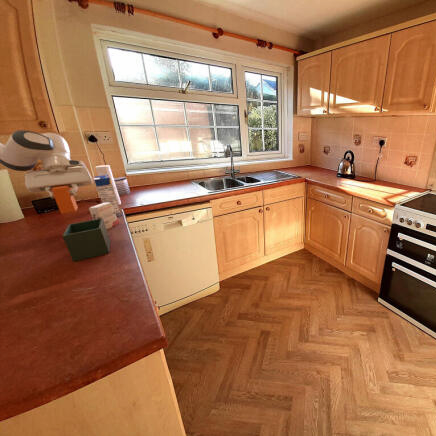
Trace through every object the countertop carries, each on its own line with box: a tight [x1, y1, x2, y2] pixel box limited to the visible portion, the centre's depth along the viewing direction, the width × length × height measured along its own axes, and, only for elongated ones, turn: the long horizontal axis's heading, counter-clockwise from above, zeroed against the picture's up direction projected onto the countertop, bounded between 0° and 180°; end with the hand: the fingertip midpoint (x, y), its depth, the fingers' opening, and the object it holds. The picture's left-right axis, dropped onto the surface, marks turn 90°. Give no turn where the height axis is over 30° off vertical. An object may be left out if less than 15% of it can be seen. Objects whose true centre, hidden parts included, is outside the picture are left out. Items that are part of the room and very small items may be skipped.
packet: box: [51, 185, 79, 215], centre depth 98 cm, size 4×6×10 cm
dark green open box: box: [62, 218, 112, 263], centre depth 99 cm, size 11×13×11 cm
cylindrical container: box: [95, 164, 122, 206], centre depth 154 cm, size 7×7×25 cm
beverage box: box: [93, 175, 123, 218], centre depth 137 cm, size 7×11×22 cm, turn 39°
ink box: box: [88, 202, 120, 230], centre depth 122 cm, size 9×5×12 cm, turn 168°
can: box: [114, 176, 131, 197], centre depth 181 cm, size 11×11×12 cm
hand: (63, 196), depth 97 cm, fingers closed on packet, 4 cm apart
